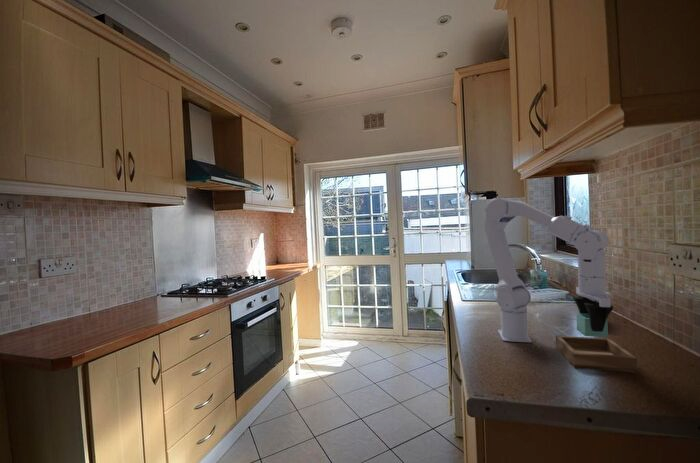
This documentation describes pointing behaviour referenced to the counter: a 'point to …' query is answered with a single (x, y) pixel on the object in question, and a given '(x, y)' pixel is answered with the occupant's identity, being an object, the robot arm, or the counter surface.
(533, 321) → the counter surface
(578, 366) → the big crate
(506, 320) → the robot arm
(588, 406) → the counter surface
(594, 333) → the small crate
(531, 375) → the counter surface
